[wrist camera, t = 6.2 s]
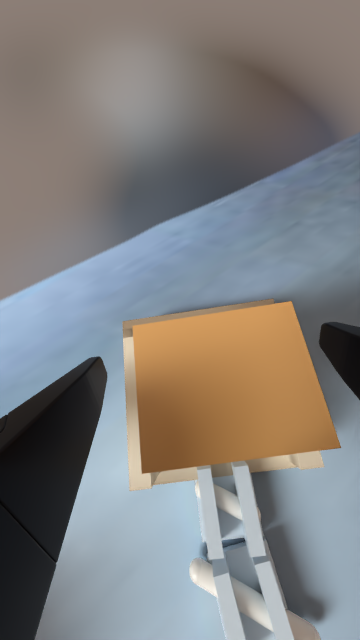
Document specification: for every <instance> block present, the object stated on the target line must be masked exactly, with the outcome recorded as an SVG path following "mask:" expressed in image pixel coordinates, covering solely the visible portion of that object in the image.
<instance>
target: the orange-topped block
mask: <svg viewBox="0 0 360 640" xmlns="http://www.w3.org/2000/svg"><path fill="white" fill-rule="evenodd" d="M133 342H134V358H135V374H136V390H137V406H138V422H139V439H140V455H141V471H142V474H145V473H153V472H161V471H168V470H176V469H183V468H191V467H199V466H206V465H214V464H221V463H229V462H237V461H244V460H252V459H259V458H267V457H275V456H282V455H290V454H297V453H305V452H313V451H320V450H328V449H335V448H341V446H340V443H339V440H338V437H337V434H336V431H335V428H334V425H333V422H332V419H331V416H330V413H329V410H328V408H327V405H326V402H325V399H324V396H323V393H322V390H321V387H320V384H319V381H318V378H317V375H316V372H315V369H314V366H313V363H312V360H311V357H310V354H309V351H308V348H307V346H306V343H305V340H304V337H303V334H302V331H301V328H300V325H299V322H298V319H297V316H296V313H295V310H294V307H293V304H292V301H290V302H283V303H277V304H270V305H264V306H257V307H251V308H244V309H238V310H231V311H225V312H219V313H212V314H206V315H199V316H193V317H186V318H180V319H173V320H167V321H160V322H154V323H148V324H141V325H135V326H133Z"/></svg>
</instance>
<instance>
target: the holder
mask: <svg viewBox="0 0 360 640" xmlns="http://www.w3.org/2000/svg"><path fill="white" fill-rule="evenodd" d="M270 304H275V303H274V299H267V300H261V301H254V302H248V303H241V304H235V305H228V306H221V307H215V308H208V309H202V310H195V311H188V312H182V313H175V314H169V315H162V316H155V317H149V318H142V319H136V320H129V321H123V344H124V368H125V392H126V416H127V440H128V464H129V488H130V491H134V490H142V489H150V488H152V486H153V485H158V484H166V483H174V482H182V481H190V480H198V474H197V467H191V468H183V469H176V470H168V471H161V472H153V473H145V474H142V471H141V455H140V439H139V422H138V406H137V390H136V374H135V358H134V342H133V326H135V325H141V324H148V323H154V322H160V321H167V320H173V319H180V318H186V317H193V316H199V315H206V314H212V313H219V312H225V311H231V310H238V309H244V308H251V307H257V306H264V305H270ZM244 461H245V462H246V463H247V465H248V468H249V473H254V472H262V471H270V470H279V469H287V468H295V467H298V468H300V469H301V470H304V469H312V468H320V467H324V464H323V460H322V457H321V454H320V451H313V452H305V453H297V454H290V455H282V456H275V457H267V458H259V459H252V460H244ZM210 468H211V474H212V478H214V477H222V476H230V475H233V471H232V465H231V462H229V463H221V464H214V465H210Z"/></svg>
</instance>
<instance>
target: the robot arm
mask: <svg viewBox="0 0 360 640" xmlns="http://www.w3.org/2000/svg"><path fill="white" fill-rule="evenodd" d="M319 344H320V347H321V349H322V350H323V352H324V353H325V355H326V356H327V358H328V359H329V360H330V362H331V363H332V365H333V366H334V368H335V369H336V371H337V372H338V374H339V375H340V376H341V378H342V379H343V380H344V382H345V383H346V384H347V385H348V387H349V388H350V389H351V390H352V391H353V392H354V394H355V395H356V396H357V397H358V398H359V400H360V327H355V326H351V325H346V324H342V323H337V322H329V323H324V324H323V325H322V326H321V332H320V339H319ZM106 382H107V372H106V369H105V366H104V363H103V361H102V359H101V357H91V358H89V359H87V360H86V361H84V362H83V363H81V364H80V365H78V366H77V367H75V368H74V369H73V370H71V371H70V372H68V373H67V374H65V375H64V376H62V377H61V378H59V379H58V380H56V381H55V382H53V383H52V384H51V385H49V386H48V387H46V388H45V389H43V390H42V391H40V392H39V393H37V394H36V395H34V396H33V397H31V398H30V399H28V400H27V401H26V402H24V403H23V404H21V405H20V406H18V407H17V408H15V409H14V410H12V411H11V412H9V413H8V415H5V416H3V417H2V418H0V640H34V639H35V636H36V632H37V629H38V626H39V622H40V619H41V615H42V612H43V609H44V605H45V602H46V598H47V595H48V592H49V588H50V585H51V581H52V578H53V575H54V571H55V568H56V562H57V560H58V557H59V554H60V550H61V547H62V543H63V540H64V537H65V533H66V530H67V526H68V523H69V520H70V516H71V513H72V509H73V506H74V503H75V499H76V496H77V492H78V489H79V486H80V482H81V479H82V475H83V472H84V469H85V465H86V462H87V458H88V455H89V452H90V448H91V445H92V441H93V438H94V435H95V431H96V428H97V424H98V421H99V418H100V414H101V410H102V405H103V399H104V393H105V388H106Z"/></svg>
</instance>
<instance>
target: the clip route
mask: <svg viewBox="0 0 360 640" xmlns="http://www.w3.org/2000/svg"><path fill="white" fill-rule="evenodd" d="M231 465H232V471H233V475H230V476H222V477H214V478H212V474H211V468H210V465H206V466H199V467H197V474H198V480H194V481H195V492H196V496H197V504H198V512H199V520H200V528H201V536H202V542H207V549H208V552H207V553H206V554H207V561H208V562H206V561H205V560H203V559H201V558H195V559H193V560H192V562H191V564H190V569H189V572H190V577H191V579H192V581H193V582H194V583H195V584H196V585H198V586H200V587H201V588H203V589H204V590H206V591H208V592H209V593H211V594H212V595H214V596H216V599H217V604H218V608H219V612H220V617H221V621H222V625H223V629H224V634H225V638H226V640H321V638H320V635H319V633H318V631H317V630H316V628H315V627H314V626H313V625H312V624H311V623H310V622H308V621H306V620H304V619H303V618H301V617H299V616H298V615H296V614H294V613H293V612H291V611H289V610H288V607H287V604H286V601H285V597H284V594H283V591H282V588H281V585H280V581H279V578H278V575H277V572H276V569H275V565H274V562H273V559H272V556H271V553H270V549H269V546H268V543H267V540H266V538H265V536H262V535H264V534H263V530H262V525H261V513H260V510H259V508H258V505H257V500H256V495H255V490H254V485H253V481H252V476H251V473H249V468H248V465H247V463H246V462H245V461H237V462H231ZM236 538H245V542H241V543H238V544H235V545H231V546H228V547H224V548H223V547H222V540H227V539H236Z"/></svg>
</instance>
